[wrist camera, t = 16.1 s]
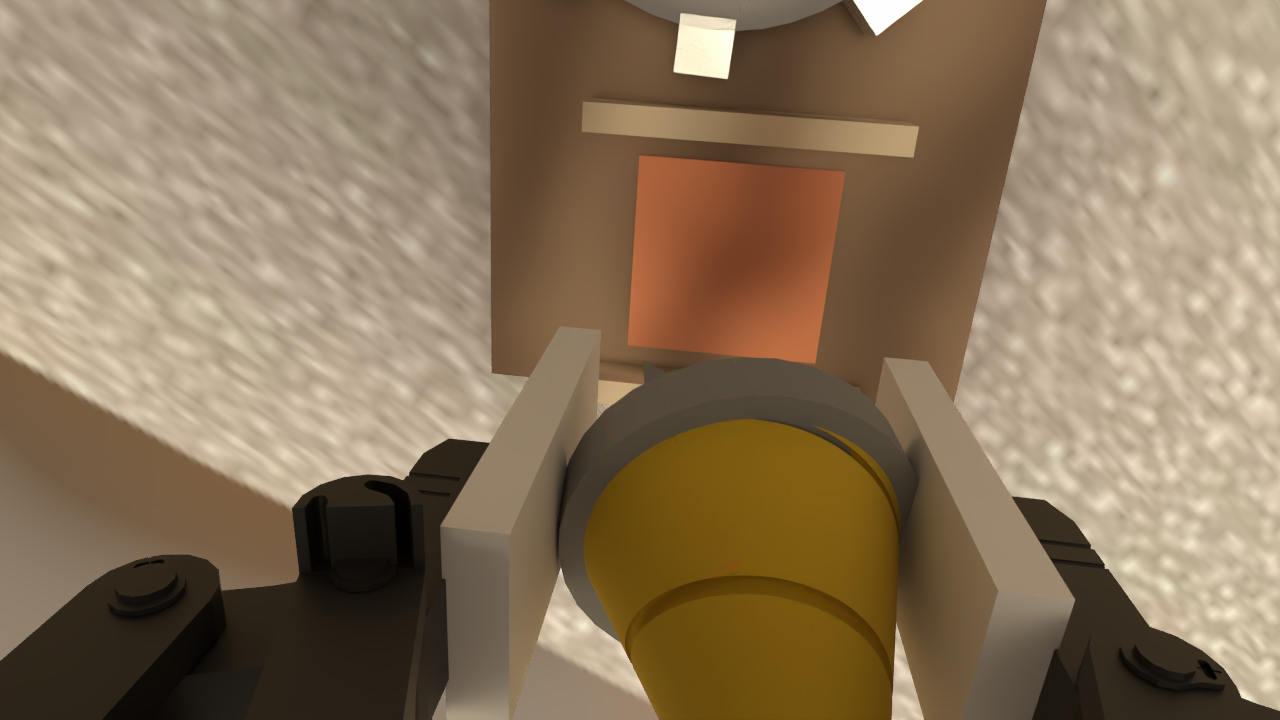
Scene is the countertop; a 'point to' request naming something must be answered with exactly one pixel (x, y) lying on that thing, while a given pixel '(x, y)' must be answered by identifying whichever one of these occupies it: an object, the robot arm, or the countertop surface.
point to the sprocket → (751, 24)
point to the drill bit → (743, 540)
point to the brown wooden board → (749, 186)
